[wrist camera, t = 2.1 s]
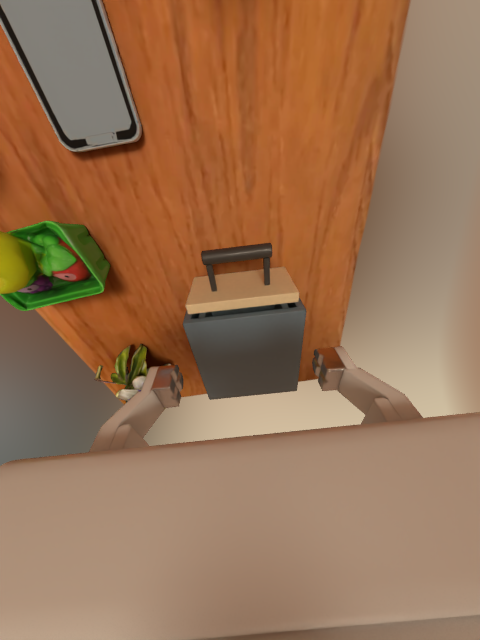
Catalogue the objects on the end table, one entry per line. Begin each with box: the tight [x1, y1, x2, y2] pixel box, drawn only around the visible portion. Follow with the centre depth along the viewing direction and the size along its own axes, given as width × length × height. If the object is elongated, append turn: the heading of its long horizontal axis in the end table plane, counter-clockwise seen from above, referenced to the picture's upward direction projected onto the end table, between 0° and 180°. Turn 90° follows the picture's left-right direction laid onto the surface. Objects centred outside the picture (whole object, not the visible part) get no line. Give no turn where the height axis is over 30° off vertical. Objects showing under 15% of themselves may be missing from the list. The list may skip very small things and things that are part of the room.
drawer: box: [186, 243, 299, 318], centre depth 26 cm, size 18×12×7 cm, turn 6°
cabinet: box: [183, 298, 306, 400], centre depth 29 cm, size 15×13×9 cm
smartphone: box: [0, 0, 142, 152], centre depth 14 cm, size 7×1×15 cm
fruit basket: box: [0, 221, 110, 311], centre depth 20 cm, size 11×9×11 cm
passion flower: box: [94, 344, 171, 409], centre depth 35 cm, size 11×11×12 cm
